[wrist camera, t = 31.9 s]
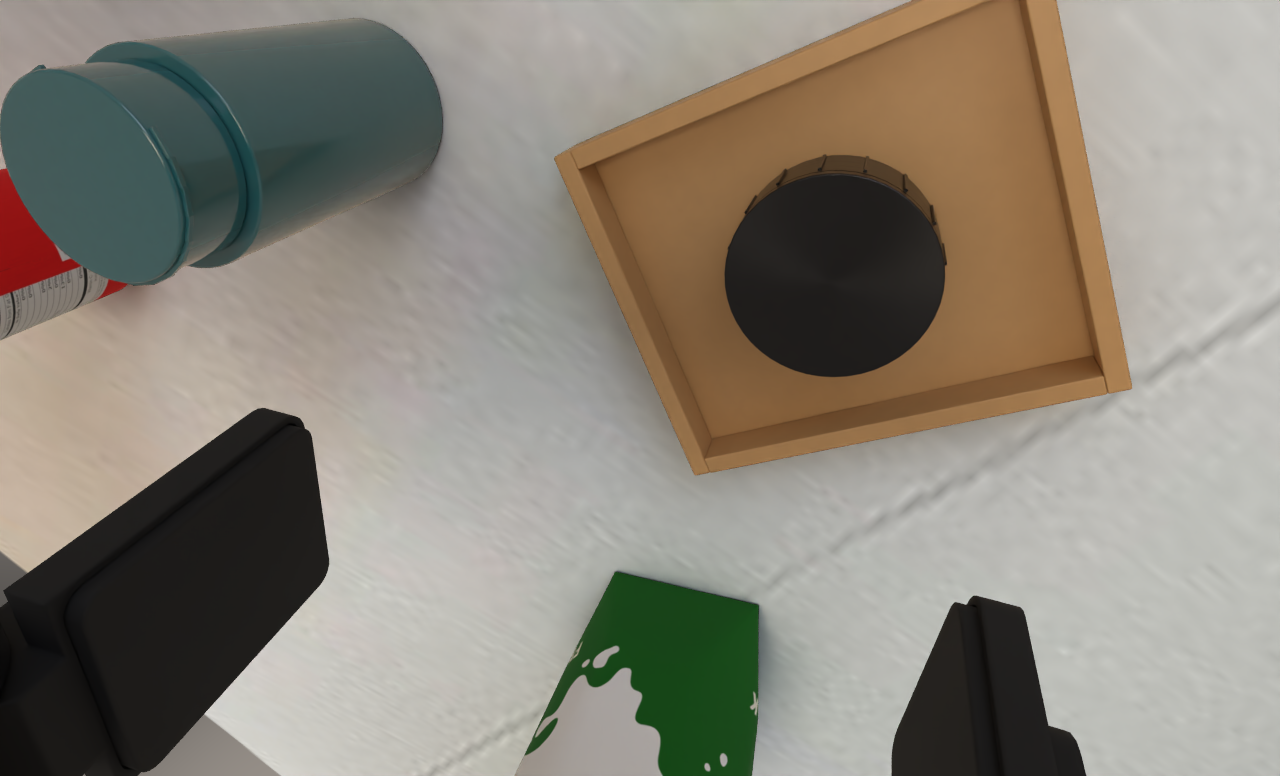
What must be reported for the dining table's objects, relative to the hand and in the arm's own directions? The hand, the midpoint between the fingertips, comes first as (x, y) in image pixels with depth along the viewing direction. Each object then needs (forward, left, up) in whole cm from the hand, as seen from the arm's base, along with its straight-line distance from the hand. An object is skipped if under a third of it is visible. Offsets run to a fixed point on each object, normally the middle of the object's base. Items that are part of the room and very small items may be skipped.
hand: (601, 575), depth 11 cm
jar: (-14, +9, -19) cm, 25 cm away
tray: (+1, -2, -19) cm, 20 cm away
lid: (+1, -2, -17) cm, 17 cm away
